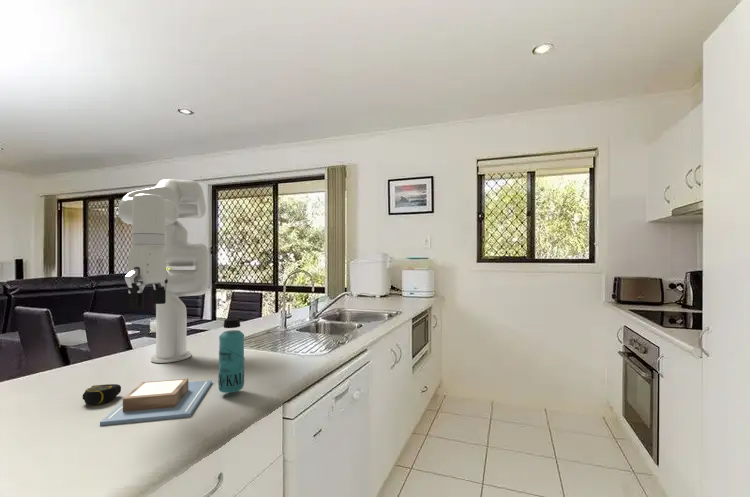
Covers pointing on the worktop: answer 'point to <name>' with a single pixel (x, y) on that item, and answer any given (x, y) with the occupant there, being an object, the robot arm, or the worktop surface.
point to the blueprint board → (161, 412)
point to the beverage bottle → (231, 358)
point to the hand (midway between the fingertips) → (148, 306)
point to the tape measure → (101, 393)
